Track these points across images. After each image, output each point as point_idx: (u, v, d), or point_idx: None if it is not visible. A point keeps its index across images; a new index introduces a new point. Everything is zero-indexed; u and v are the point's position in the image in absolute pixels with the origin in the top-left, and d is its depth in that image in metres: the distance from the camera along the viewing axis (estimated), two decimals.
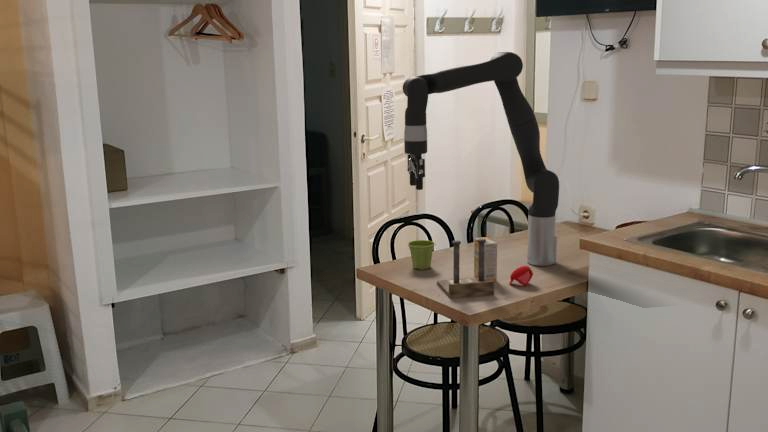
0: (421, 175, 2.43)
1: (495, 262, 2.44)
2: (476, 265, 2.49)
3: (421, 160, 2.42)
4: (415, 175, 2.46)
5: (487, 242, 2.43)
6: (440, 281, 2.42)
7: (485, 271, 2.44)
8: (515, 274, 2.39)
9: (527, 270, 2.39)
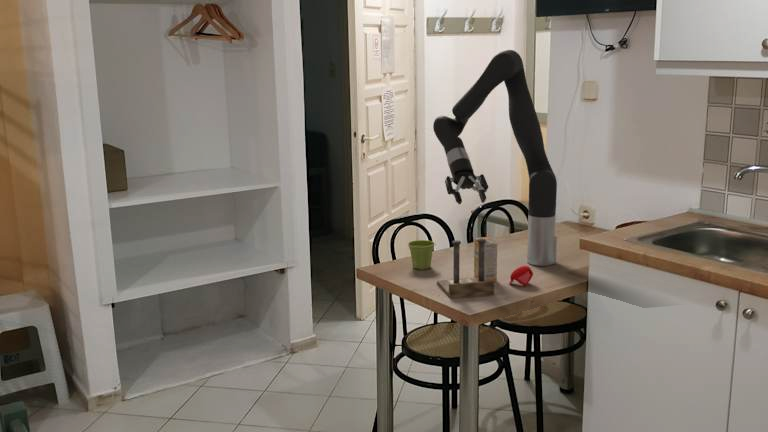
0: (448, 190, 2.55)
1: (495, 262, 2.44)
2: (476, 265, 2.49)
3: (446, 179, 2.58)
4: None
5: (487, 242, 2.43)
6: (440, 281, 2.42)
7: (485, 271, 2.44)
8: (515, 274, 2.39)
9: (527, 270, 2.39)
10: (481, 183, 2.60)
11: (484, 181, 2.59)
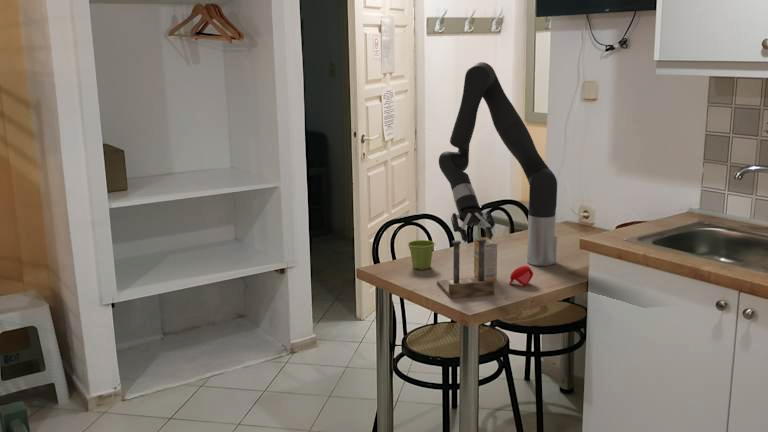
0: (454, 228, 2.52)
1: (495, 262, 2.44)
2: (476, 265, 2.49)
3: (452, 216, 2.55)
4: None
5: (487, 242, 2.43)
6: (440, 281, 2.42)
7: (485, 271, 2.44)
8: (515, 274, 2.39)
9: (527, 270, 2.39)
10: (487, 220, 2.57)
11: (491, 218, 2.56)
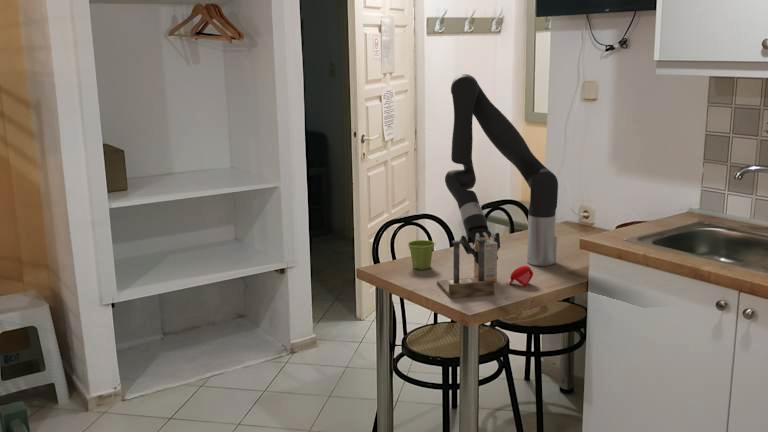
0: (468, 251, 2.47)
1: (495, 262, 2.44)
2: (476, 265, 2.49)
3: (461, 239, 2.49)
4: None
5: (487, 242, 2.43)
6: (440, 281, 2.42)
7: (485, 271, 2.44)
8: (515, 274, 2.39)
9: (527, 270, 2.39)
10: None
11: (497, 240, 2.50)
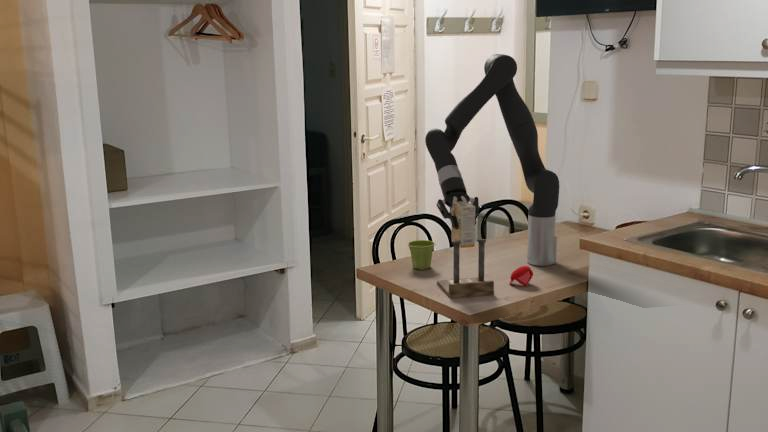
0: (444, 215, 2.34)
1: (473, 227, 2.32)
2: (453, 230, 2.37)
3: (437, 202, 2.36)
4: None
5: (464, 205, 2.31)
6: (440, 281, 2.42)
7: (462, 236, 2.31)
8: (515, 274, 2.39)
9: (527, 270, 2.39)
10: None
11: (476, 204, 2.38)
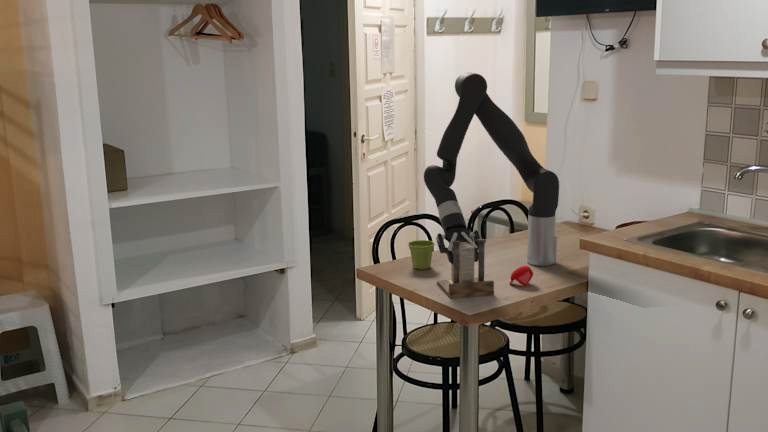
0: (441, 249, 2.37)
1: (472, 267, 2.34)
2: (453, 270, 2.39)
3: (437, 236, 2.39)
4: None
5: (464, 246, 2.33)
6: (440, 281, 2.42)
7: (462, 276, 2.34)
8: (515, 274, 2.39)
9: (527, 270, 2.39)
10: (475, 240, 2.41)
11: (478, 238, 2.40)
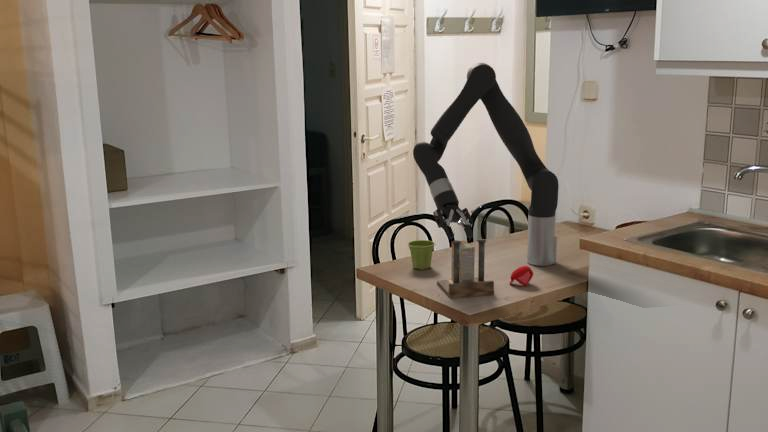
0: (440, 224, 2.44)
1: (473, 267, 2.34)
2: (453, 270, 2.39)
3: (435, 211, 2.45)
4: None
5: (464, 246, 2.34)
6: (440, 281, 2.42)
7: (462, 276, 2.34)
8: (515, 274, 2.39)
9: (527, 270, 2.39)
10: None
11: (469, 216, 2.52)
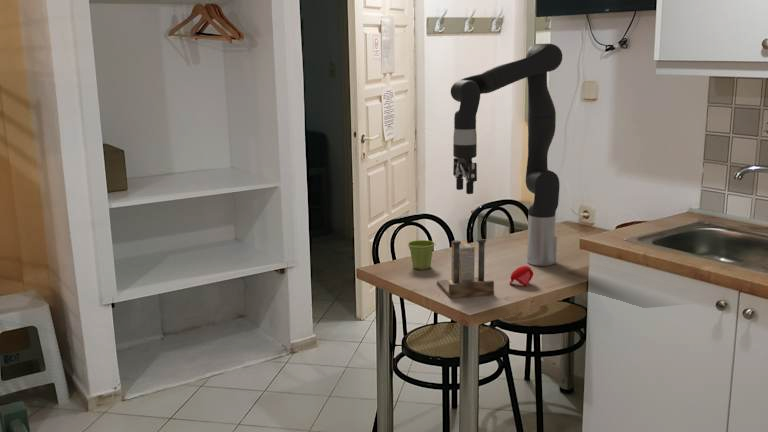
0: (473, 179, 2.41)
1: (472, 267, 2.34)
2: (453, 270, 2.39)
3: (473, 164, 2.40)
4: (466, 179, 2.43)
5: (464, 246, 2.33)
6: (440, 281, 2.42)
7: (462, 276, 2.34)
8: (515, 274, 2.39)
9: (527, 270, 2.39)
10: (457, 166, 2.52)
11: None
